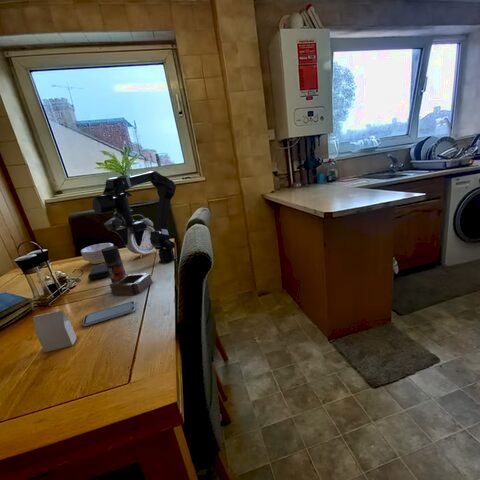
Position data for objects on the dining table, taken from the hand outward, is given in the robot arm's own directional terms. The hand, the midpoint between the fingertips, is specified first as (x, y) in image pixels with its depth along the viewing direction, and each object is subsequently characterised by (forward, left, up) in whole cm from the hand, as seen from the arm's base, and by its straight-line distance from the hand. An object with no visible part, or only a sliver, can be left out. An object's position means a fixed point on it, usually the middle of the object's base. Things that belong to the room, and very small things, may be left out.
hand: (132, 245), depth 120 cm
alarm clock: (-21, -21, -13) cm, 33 cm away
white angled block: (+46, +22, -13) cm, 53 cm away
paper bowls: (-8, -40, -13) cm, 43 cm away
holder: (+13, +11, -13) cm, 22 cm away
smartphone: (+30, +21, -13) cm, 39 cm away
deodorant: (+10, -1, -13) cm, 17 cm away
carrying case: (+5, -19, -13) cm, 24 cm away
